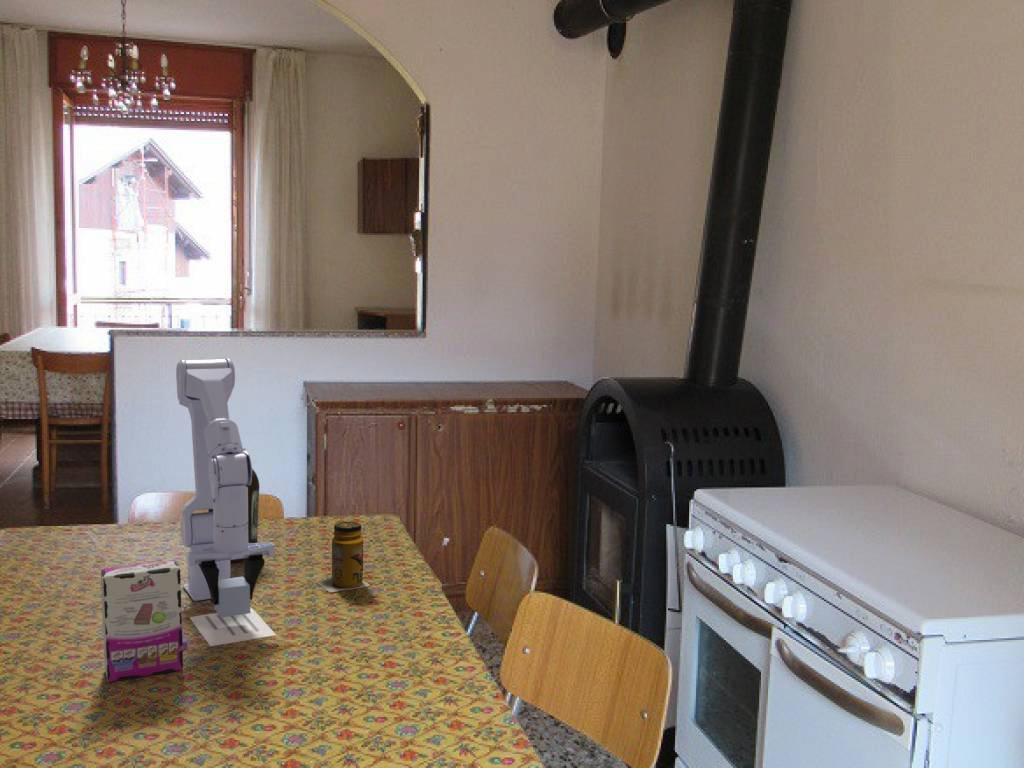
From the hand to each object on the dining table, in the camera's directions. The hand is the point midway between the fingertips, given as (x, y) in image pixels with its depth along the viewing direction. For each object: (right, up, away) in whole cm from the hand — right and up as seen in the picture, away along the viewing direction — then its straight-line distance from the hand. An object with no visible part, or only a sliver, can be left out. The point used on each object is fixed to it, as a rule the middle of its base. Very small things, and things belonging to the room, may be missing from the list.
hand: (231, 600), depth 178 cm
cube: (0, -2, 0) cm, 2 cm away
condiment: (+15, -2, +24) cm, 29 cm away
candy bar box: (-8, -7, -19) cm, 22 cm away
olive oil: (-10, +1, +41) cm, 42 cm away
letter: (0, -5, +1) cm, 4 cm away
